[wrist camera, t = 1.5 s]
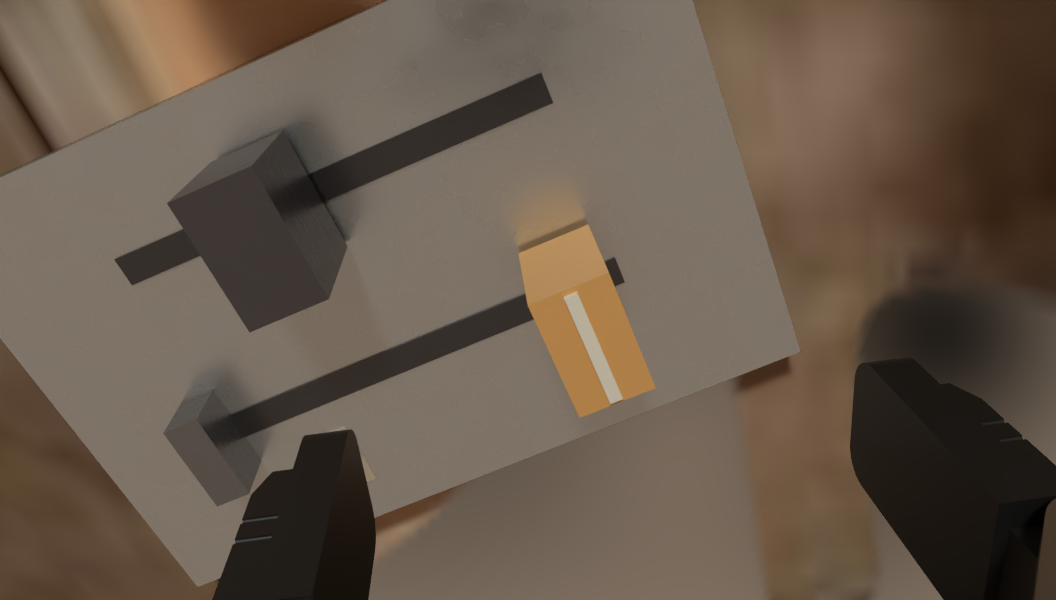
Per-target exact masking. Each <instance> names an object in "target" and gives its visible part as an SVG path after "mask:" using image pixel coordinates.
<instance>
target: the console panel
mask: <svg viewBox="0 0 1056 600" xmlns="http://www.w3.org/2000/svg"><path fill="white" fill-rule="evenodd" d="M585 225H589V227H590V230H591V232H592V234H593V236H594V239H595V241H596V243H597V246H598V248H599V250H600V253H601V255H602V257H603V260H604V262H605V264H606V267H607V269H608V271H609V274H610V276H611V279H612V281H613V284H614V286H615V289H616V291H617V293H618V296H619V298H620V301H621V303H622V306H623V308H624V311H625V313H626V316H627V318H628V321H629V323H630V325H631V328H632V330H633V333H634V335H635V338H636V340H637V343H638V345H639V348H640V350H641V353H642V355H643V358H644V360H645V362H646V365H647V367H648V370H649V372H650V375H651V377H652V380H653V382H654V385H655V387H656V388H655V389H652V390H650V391H647V392H645V393H642V394H639V395H637V396H634V397H632V398H629V399H627V400H624V401H622V402H619V403H617V404H614V405H611V406H609V407H606V408H604V409H601V410H599V411H596V412H594V413H591V414H589V415H586V416H583V417H581V418H579V415H578V413H577V411H576V409H575V407H574V405H573V403H572V400H571V398H570V396H569V394H568V392H567V390H566V387H565V385H564V383H563V381H562V379H561V377H560V374H559V372H558V370H557V368H556V366H555V364H554V361H553V359H552V357H551V355H550V353H549V351H548V348H547V346H546V344H545V342H544V340H543V338H542V336H541V333H540V331H539V329H538V327H537V325H536V323H535V320H534V318H533V316H532V314H531V312H530V310H529V307H528V304H527V299H526V293H525V288H524V282H523V276H522V271H521V265H520V259H519V254H518V253H521V252H523V251H525V250H528V249H530V248H533V247H535V246H537V245H540V244H542V243H545V242H547V241H549V240H552V239H554V238H557V237H559V236H561V235H564V234H566V233H569V232H571V231H573V230H576V229H578V228H581V227H583V226H585ZM0 338H1V340H2V341H3V342H4V343H5V345H6V346H7V347H8V348H9V350H10V351H11V352H12V353H13V355H14V356H15V357H16V358H17V360H18V361H19V362H20V364H21V365H22V366H23V367H24V369H25V370H26V371H27V372H28V374H29V375H30V376H31V377H32V379H33V380H34V381H35V382H36V384H37V385H38V386H39V387H40V389H41V390H42V391H43V393H44V394H45V395H46V396H47V398H48V399H49V400H50V401H51V403H52V404H53V405H54V406H55V408H56V409H57V410H58V411H59V413H60V414H61V415H62V416H63V418H64V419H65V420H66V421H67V423H68V424H69V425H70V427H71V428H72V429H73V430H74V432H75V433H76V434H77V435H78V437H79V438H80V439H81V440H82V442H83V443H84V444H85V445H86V447H87V448H88V449H89V450H90V452H91V453H92V454H93V455H94V457H95V458H96V459H97V461H98V462H99V463H100V464H101V466H102V467H103V468H104V469H105V471H106V472H107V473H108V474H109V476H110V477H111V478H112V479H113V481H114V482H115V483H116V484H117V486H118V487H119V488H120V490H121V491H122V492H123V493H124V495H125V496H126V497H127V498H128V500H129V501H130V502H131V503H132V505H133V506H134V507H135V508H136V510H137V511H138V512H139V513H140V515H141V516H142V517H143V518H144V520H145V521H146V522H147V524H148V525H149V526H150V527H151V529H152V530H153V531H154V532H155V534H156V535H157V536H158V537H159V539H160V540H161V541H162V542H163V544H164V545H165V546H166V547H167V549H168V550H169V551H170V552H171V554H172V555H173V556H174V558H175V559H176V560H177V561H178V563H179V564H180V565H181V566H182V568H183V569H184V570H185V571H186V573H187V574H188V575H189V576H190V578H191V579H192V580H193V581H194V583H195V584H196V585H197V587H199V586H201V585H204V584H206V583H209V582H211V581H214V580H216V579H219V578H221V575H222V572H223V570H224V567H225V564H226V561H227V559H228V556H229V553H230V551H231V548H232V545H233V544H235V537H236V534H237V532H238V529H239V526H240V524H242V523H243V521H242V518H243V515H244V513H245V510H246V507H247V505H248V502H249V499H250V497H251V494H252V493H253V492H254V491H255V490H256V489H257V488H258V487H259V486H260V485H261V484H262V482H263V481H264V480H265V479H266V478H267V477H268V476H269V475H270V474H271V473H272V472H274V471H281V470H289V469H293V467H294V463H295V460H296V457H297V454H298V451H299V447H300V444H301V441H302V438H303V437H304V436H305V435H311V434H318V433H326V432H333V431H341V430H349V429H352V430H353V431H354V433H355V435H356V438H357V442H358V446H359V451H360V455H361V459H362V463H363V468H364V472H365V476H366V481H367V485H368V489H369V494H370V498H371V502H372V507H373V512H374V518H375V517H378V516H381V515H383V514H386V513H388V512H391V511H393V510H396V509H399V508H401V507H404V506H406V505H409V504H411V503H414V502H416V501H419V500H422V499H424V498H427V497H429V496H432V495H434V494H437V493H440V492H442V491H445V490H447V489H450V488H452V487H455V486H457V485H460V484H463V483H465V482H468V481H470V480H473V479H475V478H478V477H481V476H483V475H486V474H488V473H491V472H493V471H496V470H499V469H501V468H503V467H506V466H509V465H511V464H514V463H516V462H519V461H522V460H524V459H527V458H529V457H532V456H534V455H537V454H540V453H542V452H545V451H547V450H550V449H552V448H555V447H557V446H560V445H563V444H565V443H568V442H570V441H573V440H575V439H578V438H581V437H583V436H586V435H588V434H591V433H593V432H596V431H599V430H601V429H603V428H606V427H609V426H611V425H613V424H616V423H619V422H621V421H624V420H627V419H629V418H632V417H634V416H637V415H640V414H642V413H644V412H647V411H650V410H652V409H655V408H657V407H660V406H662V405H665V404H668V403H670V402H673V401H675V400H678V399H681V398H683V397H686V396H688V395H691V394H693V393H696V392H699V391H701V390H704V389H706V388H709V387H711V386H714V385H716V384H719V383H722V382H724V381H727V380H729V379H732V378H734V377H737V376H740V375H742V374H745V373H747V372H750V371H752V370H755V369H758V368H760V367H763V366H765V365H768V364H770V363H773V362H775V361H778V360H781V359H783V358H786V357H788V356H791V355H793V354H796V353H799V352H801V351H800V348H799V345H798V342H797V338H796V335H795V332H794V329H793V325H792V322H791V319H790V316H789V312H788V309H787V306H786V303H785V299H784V296H783V293H782V290H781V286H780V283H779V280H778V277H777V273H776V270H775V267H774V264H773V260H772V257H771V254H770V251H769V247H768V244H767V241H766V238H765V234H764V231H763V228H762V225H761V221H760V218H759V215H758V212H757V208H756V205H755V202H754V199H753V195H752V192H751V189H750V186H749V182H748V179H747V176H746V173H745V169H744V166H743V163H742V160H741V156H740V153H739V150H738V147H737V143H736V140H735V137H734V134H733V130H732V127H731V124H730V121H729V117H728V114H727V111H726V108H725V104H724V101H723V98H722V95H721V91H720V88H719V85H718V82H717V78H716V75H715V72H714V69H713V65H712V62H711V59H710V56H709V52H708V49H707V46H706V43H705V39H704V36H703V33H702V30H701V26H700V23H699V20H698V17H697V13H696V10H695V7H694V4H693V0H383V1H381V2H379V3H377V4H375V5H373V6H370V7H368V8H366V9H364V10H362V11H359V12H357V13H355V14H353V15H351V16H348V17H346V18H344V19H342V20H340V21H337V22H335V23H333V24H331V25H329V26H326V27H324V28H322V29H320V30H318V31H316V32H313V33H311V34H309V35H307V36H305V37H302V38H300V39H298V40H296V41H294V42H291V43H289V44H287V45H285V46H283V47H280V48H278V49H276V50H274V51H272V52H269V53H267V54H265V55H263V56H261V57H259V58H256V59H254V60H252V61H250V62H248V63H245V64H243V65H241V66H239V67H237V68H234V69H232V70H230V71H228V72H226V73H223V74H221V75H219V76H217V77H215V78H212V79H210V80H208V81H206V82H204V83H202V84H199V85H197V86H195V87H193V88H191V89H188V90H186V91H184V92H182V93H180V94H177V95H175V96H173V97H171V98H169V99H166V100H164V101H162V102H160V103H158V104H155V105H153V106H151V107H149V108H147V109H145V110H142V111H140V112H138V113H136V114H134V115H131V116H129V117H127V118H125V119H123V120H120V121H118V122H116V123H114V124H112V125H109V126H107V127H105V128H103V129H101V130H98V131H96V132H94V133H92V134H90V135H88V136H85V137H83V138H81V139H79V140H77V141H74V142H72V143H70V144H68V145H66V146H63V147H61V148H59V149H57V150H55V151H52V152H50V153H48V154H46V155H44V156H41V157H39V158H37V159H35V160H33V161H31V162H28V163H26V164H24V165H22V166H20V167H17V168H15V169H13V170H11V171H9V172H6V173H4V174H2V175H0Z"/></svg>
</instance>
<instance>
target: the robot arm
mask: <svg viewBox="0 0 1056 600" xmlns="http://www.w3.org/2000/svg"><path fill="white" fill-rule="evenodd" d="M850 451H851V459H852V464H853V468H854V471H855V474H856V476H857V478H858V480H859V482H860V484H861V485H862V487H863V488H864V490H865V491H866V493H867V494H868V495H869V497H870V498H871V499H872V501H873V502H874V504H875V505H876V506H877V508H878V509H879V511H880V512H881V513H882V515H883V516H884V517H885V519H886V520H887V522H888V523H889V524H890V526H891V527H892V528H893V530H894V531H895V533H896V534H897V536H898V537H899V538H900V540H901V541H902V543H903V544H904V545H905V547H906V548H907V549H908V551H909V552H910V554H911V555H912V556H913V558H914V559H915V560H916V562H917V563H918V565H919V566H920V567H921V569H922V570H923V572H924V573H925V574H926V576H927V577H928V578H929V580H930V581H931V583H932V584H933V586H934V587H935V588H936V590H937V591H938V592H939V594H940V595H941V597H942V598H943V599H944V600H1056V466H1055V465H1054V464H1053V463H1052V462H1051V461H1050V460H1049V459H1048V458H1047V457H1046V456H1044V455H1043V454H1042V453H1041V452H1040V451H1039V450H1038V449H1037V448H1036V447H1034V446H1033V445H1032V444H1031V443H1030V442H1029V441H1028V440H1026V439H1025V440H1023V439H1022V435H1021V434H1020V433H1019V432H1018V431H1017V430H1015V429H1014V428H1013V427H1012V426H1011V425H1010V424H1009V423H1004V419H1003V418H1002V417H1001V416H1000V415H999V414H998V413H997V412H996V411H995V410H993V409H992V408H991V407H990V406H989V405H988V404H987V403H986V402H985V401H983V400H982V399H981V398H979V397H977V396H975V395H973V394H970V393H968V392H966V391H964V390H962V389H960V388H958V387H956V386H954V385H952V384H949V383H948V384H941V385H940V384H939V383H938V382H937V381H936V380H935V379H934V378H933V377H932V376H931V375H930V374H929V373H928V372H927V371H926V370H925V369H923V368H922V366H920V365H919V364H918V363H917V362H916V361H915V360H914V359H912V358H909V357H906V358H899V359H890V360H883V361H876V362H868V363H862V364H860V365H859V366H858V368H857V370H856V374H855V383H854V398H853V412H852V426H851V441H850ZM242 521H243V523H242V524H240V526H239V529H238V532H237V534H236V537H235V544H233V545H232V548H231V551H230V553H229V556H228V559H227V561H226V564H225V567H224V570H223V572H222V575H221V578H220V580H219V583H218V586H217V588H216V591H215V594H214V597H213V599H212V600H368V597H369V590H370V583H371V576H372V568H373V561H374V554H375V544H376V532H375V519H374V512H373V507H372V502H371V498H370V494H369V489H368V485H367V481H366V476H365V472H364V468H363V463H362V459H361V455H360V451H359V446H358V442H357V438H356V435H355V433H354V431H353V430H352V429H349V430H341V431H333V432H326V433H318V434H311V435H305V436H304V437H303V438H302V441H301V444H300V447H299V451H298V454H297V457H296V460H295V463H294V467H293V469H289V470H281V471H274V472H272V473H271V474H270V475H269V476H268V477H267V478H266V479H265V480H264V481H263V482H262V484H261V485H260V486H259V487H258V488H257V489H256V490H255V491H254V492H253V493H252V494H251V497H250V499H249V502H248V505H247V507H246V510H245V513H244V515H243V518H242Z"/></svg>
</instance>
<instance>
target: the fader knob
mask: <svg viewBox="0 0 1056 600" xmlns="http://www.w3.org/2000/svg"><path fill="white" fill-rule="evenodd" d="M518 254H519V259H520V265H521V271H522V276H523V282H524V288H525V293H526V299H527V304H528V307H529V310H530V312H531V314H532V316H533V318H534V320H535V323H536V325H537V327H538V329H539V331H540V333H541V336H542V338H543V340H544V342H545V344H546V346H547V348H548V351H549V353H550V355H551V357H552V359H553V361H554V364H555V366H556V368H557V370H558V372H559V374H560V377H561V379H562V381H563V383H564V385H565V387H566V390H567V392H568V394H569V396H570V398H571V400H572V403H573V405H574V407H575V409H576V411H577V413H578V415H579V418H581V417H583V416H586V415H589V414H591V413H594V412H596V411H599V410H601V409H604V408H606V407H609V406H611V405H614V404H617V403H619V402H622V401H624V400H627V399H629V398H632V397H634V396H637V395H639V394H642V393H645V392H647V391H650V390H652V389H655V388H656V387H655V385H654V382H653V380H652V377H651V375H650V372H649V370H648V367H647V365H646V362H645V360H644V358H643V355H642V353H641V350H640V348H639V345H638V343H637V340H636V338H635V335H634V333H633V330H632V328H631V325H630V323H629V321H628V318H627V316H626V313H625V311H624V308H623V306H622V303H621V301H620V298H619V296H618V293H617V291H616V289H615V286H614V284H613V281H612V279H611V276H610V274H609V271H608V269H607V267H606V264H605V262H604V260H603V257H602V255H601V253H600V250H599V248H598V246H597V243H596V241H595V239H594V236H593V234H592V232H591V230H590V227H589V225H585V226H583V227H581V228H578V229H576V230H573V231H571V232H569V233H566V234H564V235H561V236H559V237H557V238H554V239H552V240H549V241H547V242H545V243H542V244H540V245H537V246H535V247H533V248H530V249H528V250H525V251H523V252H521V253H518Z"/></svg>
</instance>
